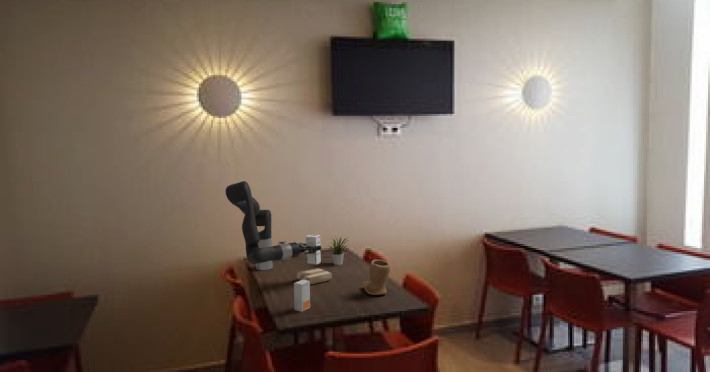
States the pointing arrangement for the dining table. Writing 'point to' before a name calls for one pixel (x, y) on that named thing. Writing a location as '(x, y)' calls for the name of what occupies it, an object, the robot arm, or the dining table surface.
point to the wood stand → (314, 275)
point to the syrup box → (312, 241)
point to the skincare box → (302, 295)
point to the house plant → (338, 251)
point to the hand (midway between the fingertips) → (316, 246)
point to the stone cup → (377, 277)
